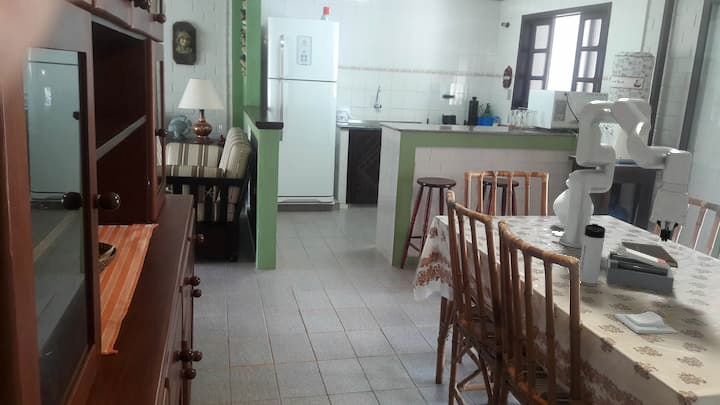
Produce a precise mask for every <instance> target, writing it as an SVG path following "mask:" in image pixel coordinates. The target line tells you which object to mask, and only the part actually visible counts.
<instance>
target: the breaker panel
mask: <svg viewBox="0 0 720 405" xmlns="http://www.w3.org/2000/svg"><path fill="white" fill-rule="evenodd" d="M674 280H675V277H674V274H673V272H672V269H671V266H669V265H667V266H666V268H662V267H656V266H653V265H651V264H648V263H645V262H642V261H639V260H636V259H633V258H630V257H627V256H624V255H621V254H618V253H616V251H614V250H610V251H609V255H607V259H606V265H605V283H611V284H612V283H613V284H618V285H623V286H628V287H629V286H630V287H634V286H635V287H636V288H640V289H641V288H642V289H648V290H653V291H659V292H664V293H665V292H666V293H671V294H672V292H673V287H674V282H675V281H674Z"/></svg>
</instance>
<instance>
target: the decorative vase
mask: <svg viewBox="0 0 720 405" xmlns="http://www.w3.org/2000/svg"><path fill="white" fill-rule="evenodd" d="M571 173H572V172H571ZM571 173H568V174H569V175H568V177H569V176H570V175H571ZM568 180H569V178H568V179H567V180H566V181H565V185H566V186H567V187H568V188H567V189H565V190H564V191H563V192H561V194H559V195H558V196H557V198H556V199H555V200H554V202H553V206H552V209H553V212H554V214H555V216H556V217H557V219H558V220H559V222H557V223H556V227H558V228H560V229H563V230H564V229H565V222H566V215H567V207H568V199H569V184H568ZM594 210H595V209H594V203H592V213H591V217H592V216H593V215H594Z"/></svg>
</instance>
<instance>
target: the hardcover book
mask: <svg viewBox="0 0 720 405" xmlns="http://www.w3.org/2000/svg"><path fill="white" fill-rule="evenodd" d="M621 246H623V247H626V248H628V249H631V250H634V251H637V252H640V253H643V254H646V255H649V256H652V257H655V258H659V259H662V260H665V261H666V264H667V265H669V266H670V267H676V268H678V265H679V263H678V262H677V261H676V260H675V259H674V258H673V257H672V256H671V255H670V253H669V252H668V251H667V250H666V249H665V248H664V247H663V246H662V245H657V244H648V243H646V244H645V243H638V242H630V241H629V242H628V241H621Z"/></svg>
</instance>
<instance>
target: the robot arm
mask: <svg viewBox="0 0 720 405" xmlns="http://www.w3.org/2000/svg"><path fill="white" fill-rule="evenodd" d="M651 115H652V106H651V104H650V103H649V102H648V101H647V100H645V99H642V98H628V97H627V98H625V97H623V98H619V99H616V100H615V101H608V100H593V101H588V102H587V103H584V105H583V106H582V107H581V109H580V111H579V114H578V129H579V131H578V138H577V145H576V153H575V160H576V164H577V165H579V166H581V167H590V168H591V167H594V168H595V169H577V170H574V171H573V172H571V175H570V176H569V175H568V179H569V180H568V179H567V180H568V184H569V187H568V189H569V199H568V207H567V215H566V222H565V229H563V231H560V232H559V231H553V230H552V237H555V238H559V239H558V243H559V244H561V245H563V246H566V247H568V248H575V249H582V247H583V240H584V234H585V227H586V225H591V218H592V216H591V213H592V204H593V201H592V198H591V196H590V194H597V193H598V194H600V193H601V194H603V193H607V192H608V191H609V190H610V189H611V188H612V185H613V181H614V174H615V169H616V161H617V154H616V150H615V148H614V146H613V145H611V144H609V143H601V141H602V140H601V139H602V129H601V127H600V125H599V124H615V125H619V127H620V128H621V129H622V131H623V132H624V133H625V135H626V136H627V137H626V141H625V142H626V143H625V144H626V151H627V154H628V155H629V156H630V158H631V159H632V160H633V162H634V163H635V164H636V165H637V166H638V167H640V168H642V169H647V170H649V169H651V170H652V169H654V170H655V169H658V170H663V173H662V174H663V175H662V179H661V181H659V182H656V185H655V186H656V187H659V189H658V190H657V193H656V195H655V198H654V202H653V204H652V210H651V215H650V217H649V221H650V222H651V223H654V224H657V225H658V227H659V228H660V231H659V239H660V240H661V242H668V240H670V238H671V232H672V231H673V230H674V229H676V228H677V227H685V226H686V221H687V217H688V210H689V201H690V200H689V193H688V192H687V190H688V183H689V179H690V178H689V177H690V173H691V167H692V162H693V157H694V156H693V154H692V153H691V152H690V151H687V150H681V149H680V150H679V149H676V148H674V147H669V146H652V145H651V146H649V145H648V144H646V142H645V141H644V139H643V138H645V137H646V136H647V135H648V134H649V133H650V131H651V129H652V124H651V122H650V121H649V118H650V117H651ZM666 222H668V225H667V226H666Z"/></svg>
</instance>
